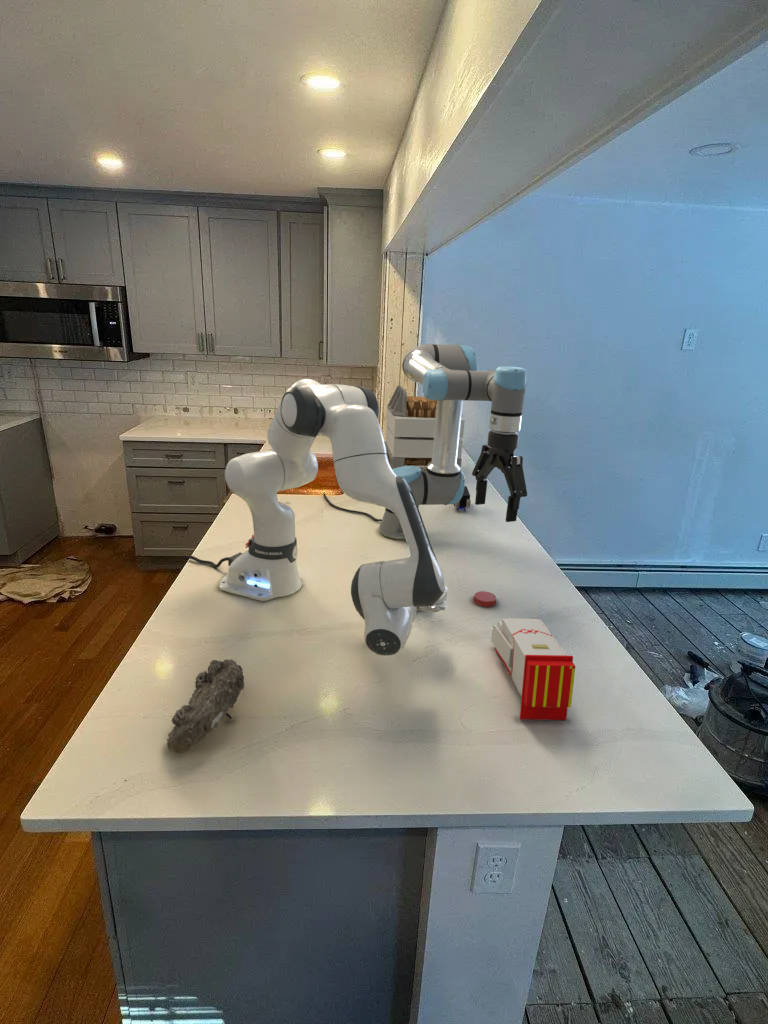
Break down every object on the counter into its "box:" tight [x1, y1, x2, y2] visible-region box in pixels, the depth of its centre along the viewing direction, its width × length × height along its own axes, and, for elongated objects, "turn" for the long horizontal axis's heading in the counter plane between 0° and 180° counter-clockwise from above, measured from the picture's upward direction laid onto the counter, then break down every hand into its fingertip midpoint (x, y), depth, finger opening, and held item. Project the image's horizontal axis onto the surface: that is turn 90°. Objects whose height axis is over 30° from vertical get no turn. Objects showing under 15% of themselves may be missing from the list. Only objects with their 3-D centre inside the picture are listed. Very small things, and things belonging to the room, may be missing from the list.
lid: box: [473, 590, 497, 608], centre depth 156 cm, size 6×6×2 cm
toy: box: [490, 617, 576, 721], centre depth 122 cm, size 12×13×30 cm
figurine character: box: [453, 485, 472, 513], centre depth 228 cm, size 7×8×15 cm
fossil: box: [166, 658, 245, 754], centre depth 106 cm, size 22×10×15 cm
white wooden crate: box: [384, 384, 465, 472], centre depth 268 cm, size 34×33×41 cm
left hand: (408, 576), depth 137 cm, fingers open, 8 cm apart
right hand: (494, 512), depth 147 cm, fingers open, 13 cm apart
